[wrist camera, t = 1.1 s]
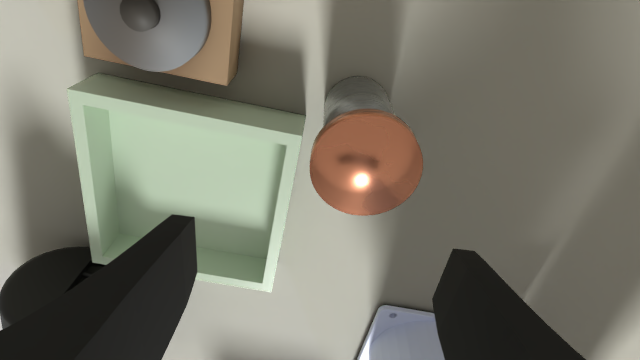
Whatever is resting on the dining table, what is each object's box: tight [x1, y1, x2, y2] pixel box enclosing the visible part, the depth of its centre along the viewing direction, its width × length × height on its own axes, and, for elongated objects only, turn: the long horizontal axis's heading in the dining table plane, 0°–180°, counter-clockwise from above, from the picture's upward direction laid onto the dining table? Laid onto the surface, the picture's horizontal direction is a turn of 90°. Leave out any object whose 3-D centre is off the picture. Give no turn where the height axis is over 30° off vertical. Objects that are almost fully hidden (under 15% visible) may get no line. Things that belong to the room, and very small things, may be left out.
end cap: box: [0, 247, 106, 329], centre depth 23 cm, size 10×7×7 cm
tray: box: [67, 73, 306, 292], centre depth 20 cm, size 10×10×2 cm
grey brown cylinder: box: [310, 76, 423, 215], centre depth 16 cm, size 4×4×6 cm
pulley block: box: [77, 0, 244, 86], centre depth 15 cm, size 6×5×4 cm
